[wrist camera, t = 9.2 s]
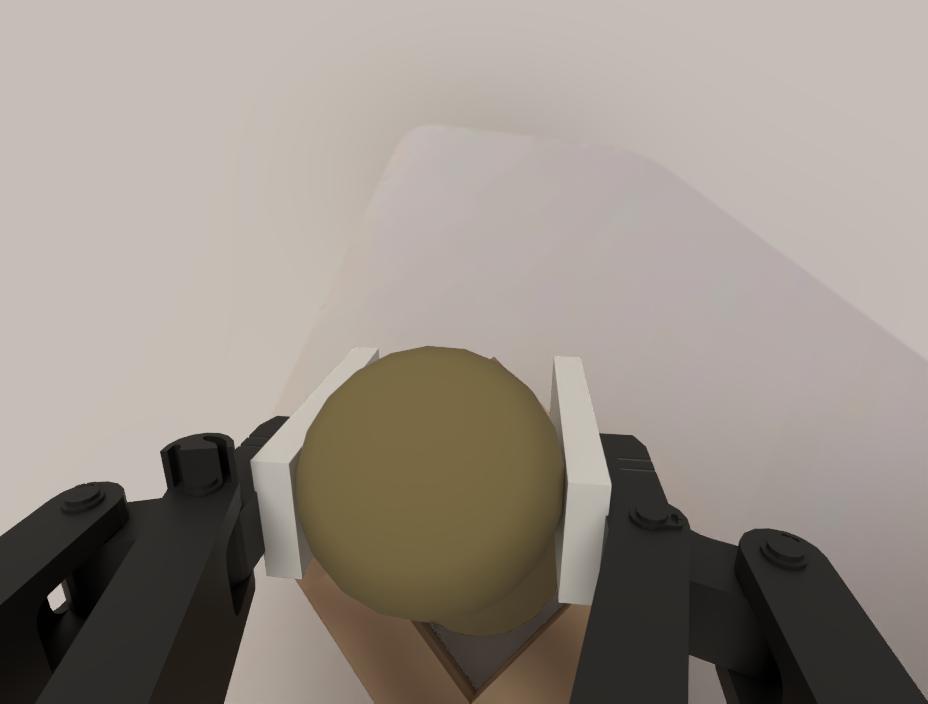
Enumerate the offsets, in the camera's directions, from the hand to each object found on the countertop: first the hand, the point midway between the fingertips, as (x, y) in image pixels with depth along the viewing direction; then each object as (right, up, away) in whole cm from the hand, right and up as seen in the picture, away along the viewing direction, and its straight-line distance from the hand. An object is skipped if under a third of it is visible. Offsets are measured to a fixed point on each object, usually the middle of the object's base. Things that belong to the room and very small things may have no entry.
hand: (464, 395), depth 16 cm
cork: (+1, -5, +3) cm, 6 cm away
